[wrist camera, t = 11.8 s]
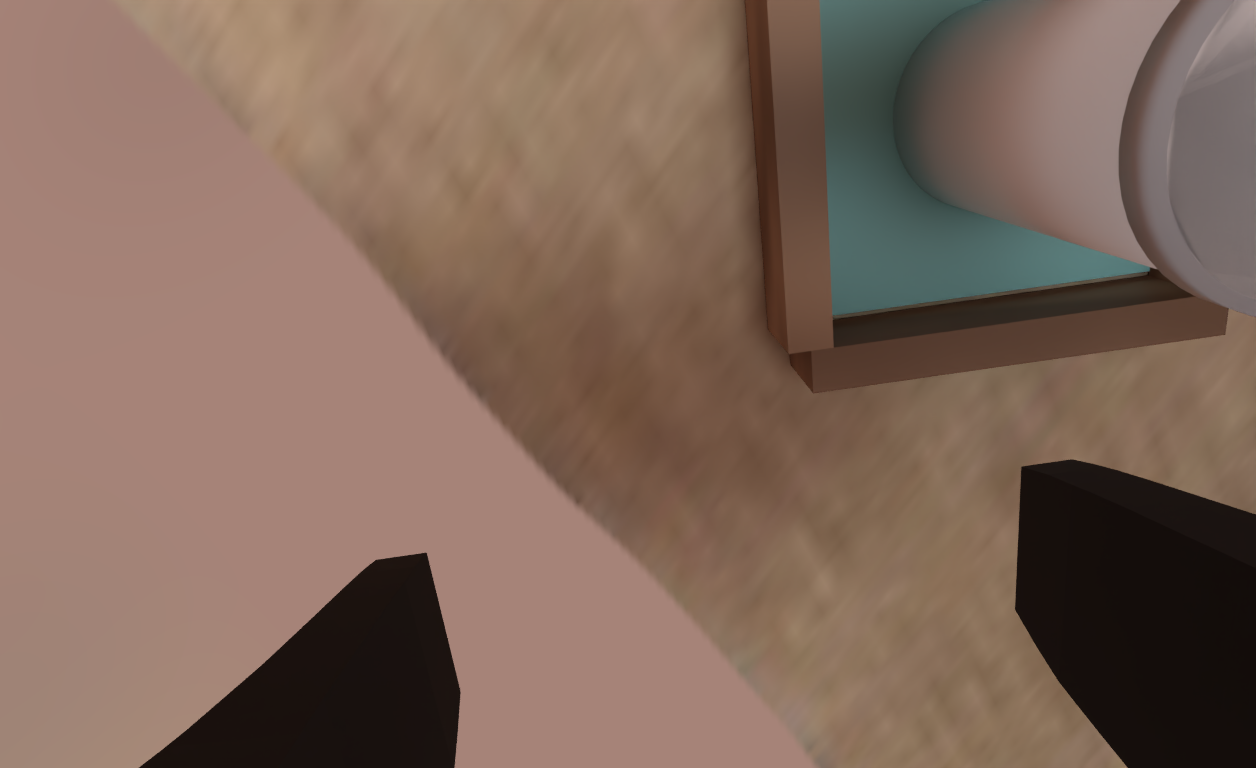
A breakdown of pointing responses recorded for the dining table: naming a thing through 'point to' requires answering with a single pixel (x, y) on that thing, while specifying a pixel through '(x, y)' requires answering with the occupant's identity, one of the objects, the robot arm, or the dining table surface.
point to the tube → (1097, 129)
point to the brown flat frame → (909, 224)
